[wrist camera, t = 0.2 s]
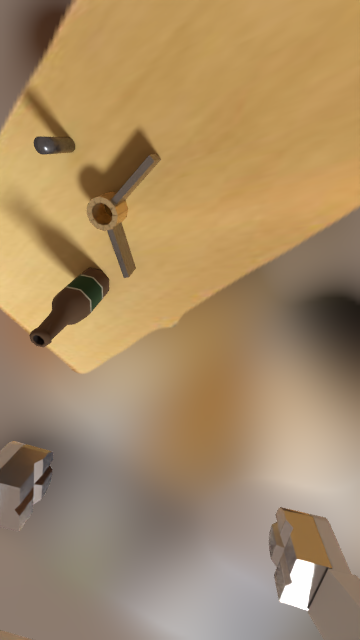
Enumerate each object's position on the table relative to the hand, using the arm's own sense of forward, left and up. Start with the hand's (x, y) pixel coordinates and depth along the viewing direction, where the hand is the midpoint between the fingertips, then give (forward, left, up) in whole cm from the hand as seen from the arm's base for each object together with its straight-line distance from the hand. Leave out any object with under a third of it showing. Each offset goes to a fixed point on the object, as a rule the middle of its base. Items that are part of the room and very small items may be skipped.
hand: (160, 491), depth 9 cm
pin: (+15, -27, -52) cm, 60 cm away
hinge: (+14, -9, -52) cm, 54 cm away
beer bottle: (+34, -6, -52) cm, 62 cm away
